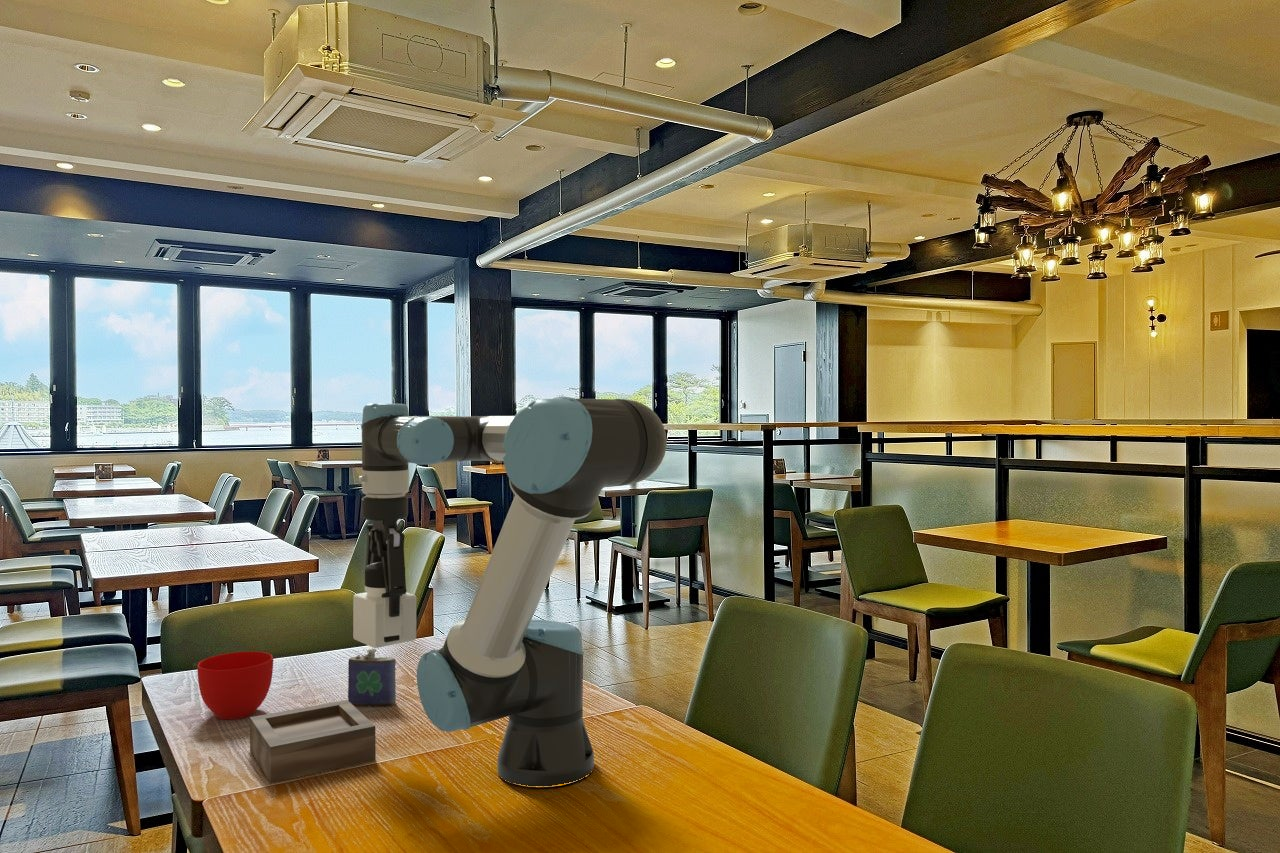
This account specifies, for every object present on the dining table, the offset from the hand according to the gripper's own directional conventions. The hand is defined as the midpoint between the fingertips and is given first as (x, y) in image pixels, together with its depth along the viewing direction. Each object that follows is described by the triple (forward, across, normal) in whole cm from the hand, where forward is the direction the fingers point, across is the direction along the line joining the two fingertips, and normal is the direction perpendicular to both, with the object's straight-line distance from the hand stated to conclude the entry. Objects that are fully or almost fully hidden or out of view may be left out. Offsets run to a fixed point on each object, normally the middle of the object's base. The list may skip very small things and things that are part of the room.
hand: (384, 628), depth 148 cm
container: (+2, 0, 0) cm, 2 cm away
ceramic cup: (+21, -33, -20) cm, 43 cm away
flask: (+21, -23, +4) cm, 31 cm away
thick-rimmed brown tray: (+20, -2, -11) cm, 23 cm away
